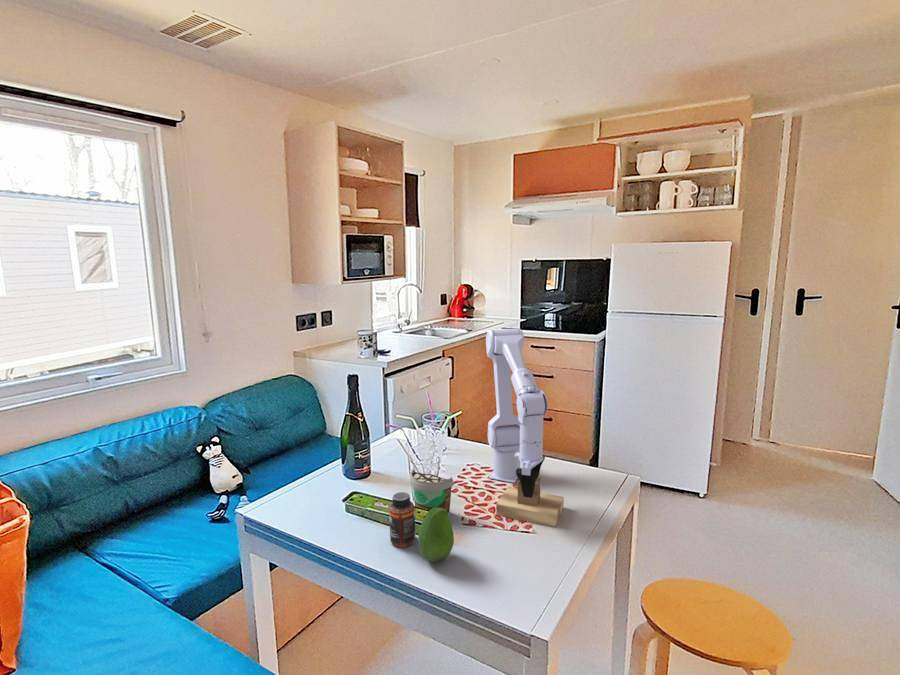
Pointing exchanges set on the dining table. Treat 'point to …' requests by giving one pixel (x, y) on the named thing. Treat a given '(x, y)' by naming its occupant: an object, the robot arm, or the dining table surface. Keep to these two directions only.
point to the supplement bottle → (402, 520)
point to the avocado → (436, 535)
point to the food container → (431, 491)
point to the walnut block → (527, 500)
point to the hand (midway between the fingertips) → (530, 489)
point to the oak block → (531, 508)
